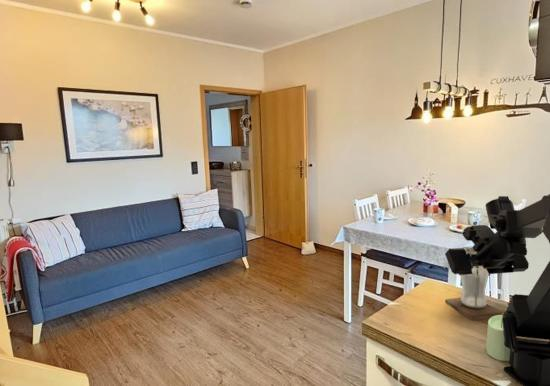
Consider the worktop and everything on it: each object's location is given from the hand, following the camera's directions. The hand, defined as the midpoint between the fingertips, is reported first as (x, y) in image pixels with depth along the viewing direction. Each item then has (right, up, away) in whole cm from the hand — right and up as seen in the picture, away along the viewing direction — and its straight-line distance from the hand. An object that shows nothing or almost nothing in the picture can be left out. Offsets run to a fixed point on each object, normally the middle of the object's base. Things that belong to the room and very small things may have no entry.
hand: (471, 273), depth 94 cm
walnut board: (0, -10, 0) cm, 10 cm away
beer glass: (0, -8, 0) cm, 8 cm away
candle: (-5, -13, -19) cm, 24 cm away
